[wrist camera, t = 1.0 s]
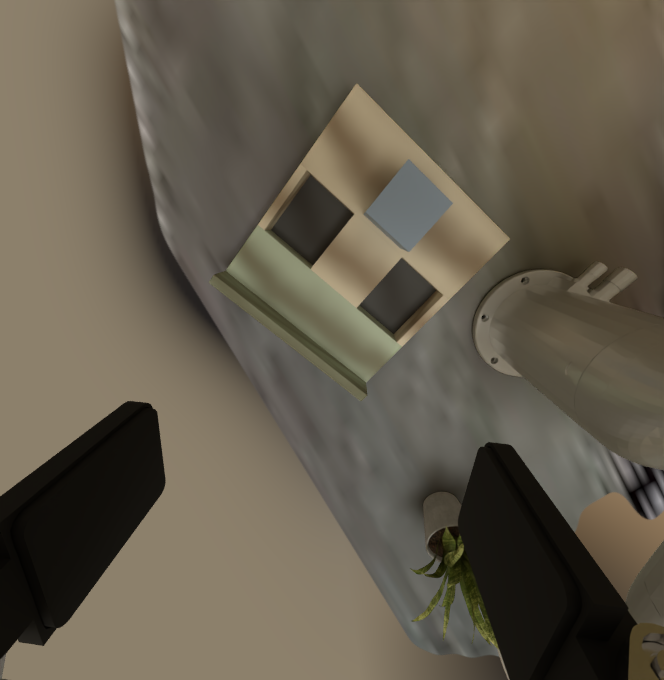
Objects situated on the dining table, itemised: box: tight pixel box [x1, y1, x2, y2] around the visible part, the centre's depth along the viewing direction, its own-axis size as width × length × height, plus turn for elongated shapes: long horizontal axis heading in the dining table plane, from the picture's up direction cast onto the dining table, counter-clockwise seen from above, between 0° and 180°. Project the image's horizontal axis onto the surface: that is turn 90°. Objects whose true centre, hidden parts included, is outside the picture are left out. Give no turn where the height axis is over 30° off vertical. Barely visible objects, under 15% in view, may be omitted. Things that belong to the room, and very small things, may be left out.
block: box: [363, 159, 453, 252], centre depth 28 cm, size 5×5×5 cm
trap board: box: [209, 83, 510, 401], centre depth 32 cm, size 22×20×6 cm
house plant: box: [410, 492, 499, 649], centre depth 38 cm, size 14×14×16 cm
